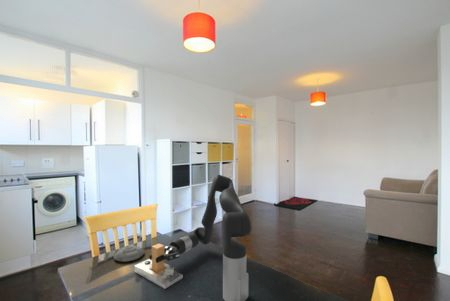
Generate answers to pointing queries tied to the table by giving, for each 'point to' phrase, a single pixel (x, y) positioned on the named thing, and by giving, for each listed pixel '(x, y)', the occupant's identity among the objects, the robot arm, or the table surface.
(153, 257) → the pin
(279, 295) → the table surface
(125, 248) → the flying saucer
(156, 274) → the white peg board
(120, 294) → the table surface
